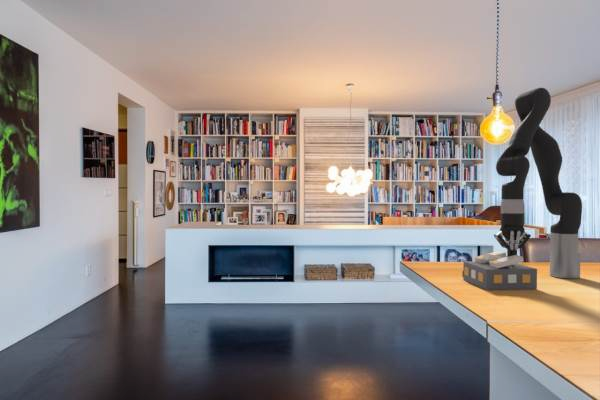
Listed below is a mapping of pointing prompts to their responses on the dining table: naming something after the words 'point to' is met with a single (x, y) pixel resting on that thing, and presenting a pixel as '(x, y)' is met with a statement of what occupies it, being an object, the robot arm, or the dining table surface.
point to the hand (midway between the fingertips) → (512, 259)
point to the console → (500, 276)
